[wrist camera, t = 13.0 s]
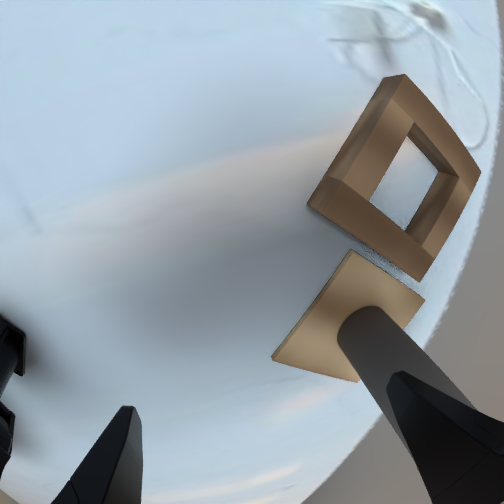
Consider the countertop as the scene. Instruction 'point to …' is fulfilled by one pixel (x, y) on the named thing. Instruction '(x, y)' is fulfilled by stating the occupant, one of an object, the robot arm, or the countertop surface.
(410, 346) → the plug
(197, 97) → the countertop surface
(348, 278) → the cork mat
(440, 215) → the wooden square frame
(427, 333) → the countertop surface
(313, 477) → the countertop surface
